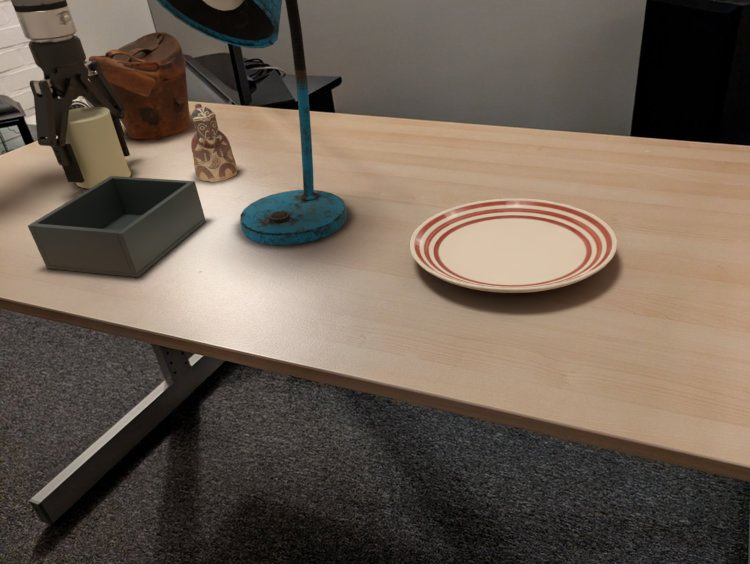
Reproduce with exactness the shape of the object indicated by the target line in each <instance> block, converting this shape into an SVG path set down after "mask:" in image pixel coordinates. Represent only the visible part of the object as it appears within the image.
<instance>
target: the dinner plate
mask: <svg viewBox="0 0 750 564" xmlns="http://www.w3.org/2000/svg"><path fill="white" fill-rule="evenodd" d="M617 248H618V240H617V236H616V233H615V232H614V230H613V228H611V227H610V226H609V224H608V223H607V222H605V221H604V220H602V219H601V218H600V217H599V216H596V215H595V214H593V213H592V212H589V211H586V210H584V209H582V208H578V207H576V206H573V205H569V204H566V203H561V202H556V201H550V200H545V199H535V198H522V197H521V198H519V197H518V198H496V199H486V200H479V201H473V202H469V203H464V204H460V205H457V206H452V207H450V208H447V209H445V210H442V211H440V212H438V213H436V214H433V215H432V216H430V217H428V218H427V219H425V221H423V222H422V223H420V224H419V225H418V226H417V227H416V229H415V230H414V231H413V233H412V235H411V238H410V240H409V251H410V254H411V257H412V258H413V259H414V261H415V262H416V263H417V264H418V265H419V267H421V268H422V269H423V270H424V271H426V272H427V273H429V274H430V275H432V276H435V277H436V278H437V279H440V280H442V281H444V282H447V283H449V284H452V285H456V286H459V287H461V288H466V289H470V290H476V291H480V292H481V291H482V292H490V293H499V294H500V293H501V294H503V293H504V294H523V293H525V294H526V293H537V292H544V291H549V290H555V289H561V288H563V287H566V286H570V285H573V284H576V283H578V282H581V281H584V280H585V279H587V278H589V277H591V276H593V275H595V274H597V273H598V272H600V271H601V270H602V269H604V268H605V267H606V266H608V264H609V263H610V262H611V261H612V259H613V258H614V256H615V254H616V252H617Z"/></svg>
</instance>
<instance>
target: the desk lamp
mask: <svg viewBox="0 0 750 564" xmlns="http://www.w3.org/2000/svg"><path fill="white" fill-rule="evenodd" d="M284 1H285V8H286V13H287V14H286V15H287V20H288V26H289V27H288V28H289V34H290V42H291V49H292V57H293V66H294V74H295V84H296V95H297V107H298V121H299V132H300V133H299V134H300V148H301V149H300V150H301V166H302V167H301V168H302V187H303V189H294V190H288V191H282V192H277V193H272V194H270V195H267V196H264V197H261V198H259V199H257V200H255V201H254V202H252V203H250V204H249V205H247V206H246V207H245V208H244V209H243V210H242V212H241V213H240V215H239V216H240V218H239V219H240V220H239V222H240V226H241V231H242V233H243V234H244V236H245V237H246V238H247V239H249V240H251V241H253V242H257V243H259V244H262V245H268V246H269V245H271V246H293V245H294V246H295V245H301V244H306V243H310V242H314V241H318V240H321V239H323V238H325V237H328V236H331V235H332V234H334V233H335V232H337V231H338V230H340V229H341V228H342V227H343V226H344V225H345V224H346V223H347V222H346V221H347V219H348V214H347V213H348V212H347V207H346V204H345V201H344V199H342V198H341V197H340V196H339V195H337V194H334V193H332V192H328V191H324V190H317V189H315V188H314V186H315V185H314V162H313V161H314V159H313V143H312V141H313V139H312V126H311V112H310V111H311V109H310V99H309V98H310V97H309V83H308V75H307V67H306V66H307V65H306V57H305V49H304V38H303V30H302V22H301V17H300V9H299V4H298V0H284ZM156 2H157V3H158V4H159V5H160V6H161V7H162V8H163V9H165V10H166V11H167V12H168V13H169V14H171V15H172V16H173V17H174V18H175V19H177V20H179V21H180V22H182V23H183V24H185V25H186V26H188V27H189V28H191V29H193V30H195V31H197V32H199V33H201V34H203V35H205V36H207V37H209V38H212V39H214V40H217V41H219V42H221V43H224V44H228V45H230V46H231V45H232V46H234V47H235V46H236V47H239V48H244V49H245V48H246V49H266V48H268V47H270V46H273V45H274V44H275V43H276V42H278V39H279V33H280V24H281V23H280V22H281V13H282V5H283V0H156Z"/></svg>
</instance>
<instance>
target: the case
mask: <svg viewBox="0 0 750 564" xmlns="http://www.w3.org/2000/svg"><path fill="white" fill-rule="evenodd" d="M88 61H97V62H98V63H99V65H100V67H101V70H102V73H103V75H104V76H105V78H106V79H107V81H108V82H109V84H110V85H111V87H112V88H113V90H114V91H115V93H116V94H117V96H118V97H119V99H120V100H121V102H122V103H123V105H124V106H125V112H123V113H124V118H123V119H120V122H121V125H122V127H124V129H125V131H126V133H127V135H128V136H129V137H130V138H131V139H134V140H150V139H151V140H153V139H160V138H165V137H169V136H173V135H176V134H179V133H181V132H183V131H184V130H186V129H188V128H189V126H190V125H191V116H190V108H189V107H190V106H189V95H188V82H187V68H186V67H187V61H186V58H185V56H184V52H183V50H182V45H181V44H180V41H179V40H178V39H177V38H176V37H175V36H173V35H172V34H170V33H167V32H163V31H155V32H151V33H148V34H145V35H143V36H141V37H139V38H137V39H135V40H134V41H132V42H129V43H126V44H125V45H123V46H121V47H119V48H117V49H110V50H109V51H107V52H105V54H104V55H90V56H89V57H88ZM114 105H115V104H114Z"/></svg>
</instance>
